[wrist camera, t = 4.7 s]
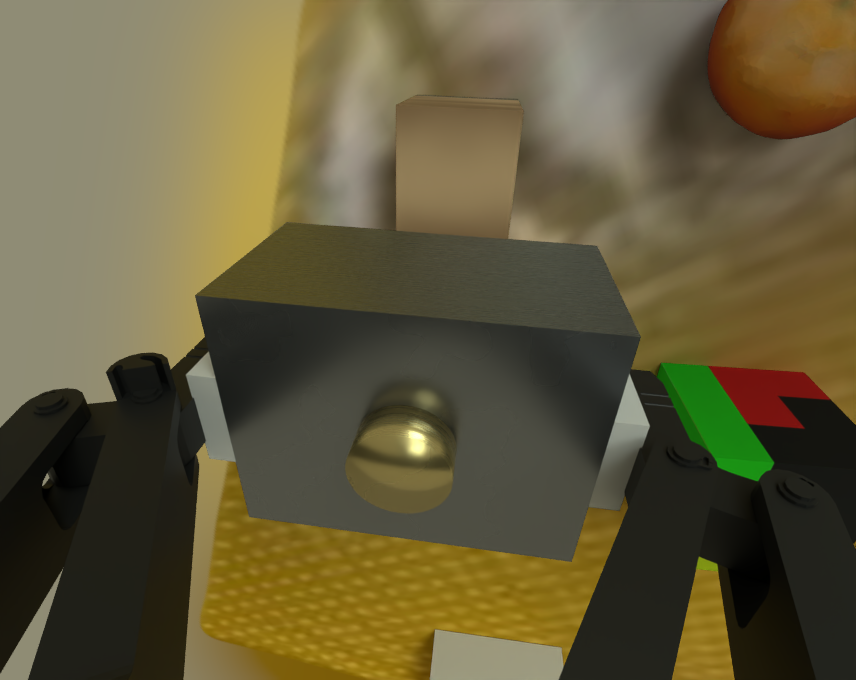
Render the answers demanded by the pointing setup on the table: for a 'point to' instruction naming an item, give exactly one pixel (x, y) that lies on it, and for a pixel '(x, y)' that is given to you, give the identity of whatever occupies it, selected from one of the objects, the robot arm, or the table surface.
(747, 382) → the puzzle toy
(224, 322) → the grey box with knob
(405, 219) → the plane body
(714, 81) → the fruit
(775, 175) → the table surface
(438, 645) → the flower dish
